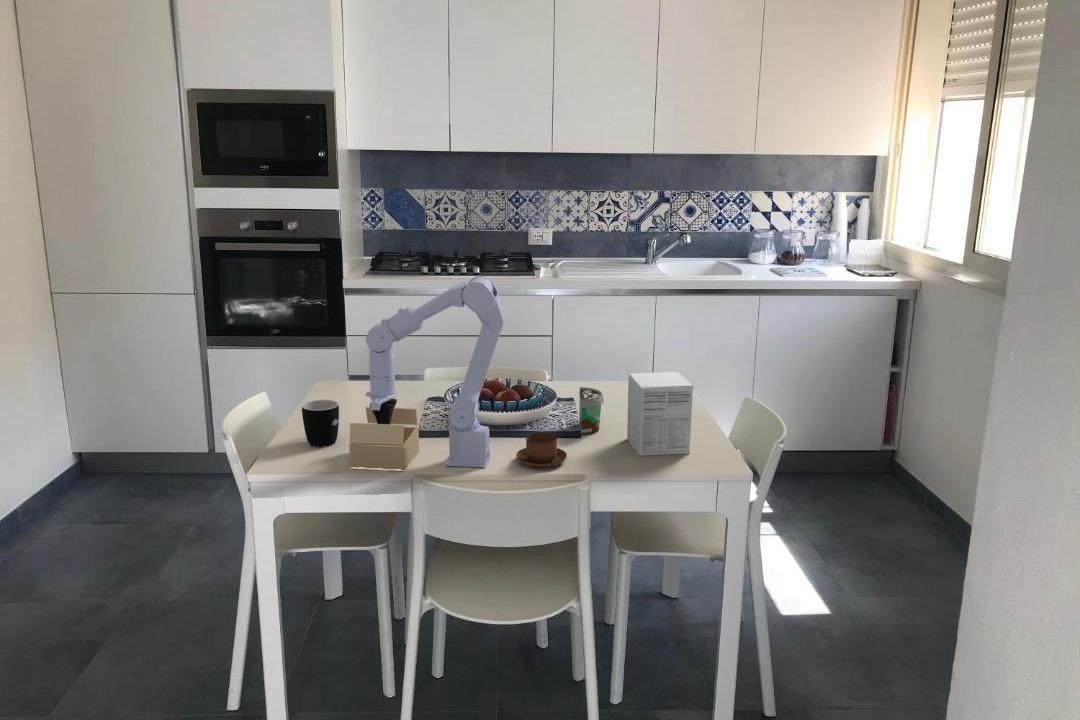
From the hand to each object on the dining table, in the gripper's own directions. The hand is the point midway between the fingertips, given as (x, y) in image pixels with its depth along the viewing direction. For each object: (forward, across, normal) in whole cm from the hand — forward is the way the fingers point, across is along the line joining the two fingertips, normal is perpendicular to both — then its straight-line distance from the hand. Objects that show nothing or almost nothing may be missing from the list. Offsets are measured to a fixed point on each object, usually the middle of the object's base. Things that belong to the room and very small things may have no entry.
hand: (384, 430), depth 214 cm
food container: (+8, -28, +48) cm, 56 cm away
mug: (+8, -11, -19) cm, 23 cm away
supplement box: (+8, -17, +65) cm, 68 cm away
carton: (+7, 0, 0) cm, 7 cm away
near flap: (-1, +6, 0) cm, 7 cm away
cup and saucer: (+8, -3, +37) cm, 38 cm away
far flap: (-1, -7, 0) cm, 7 cm away
